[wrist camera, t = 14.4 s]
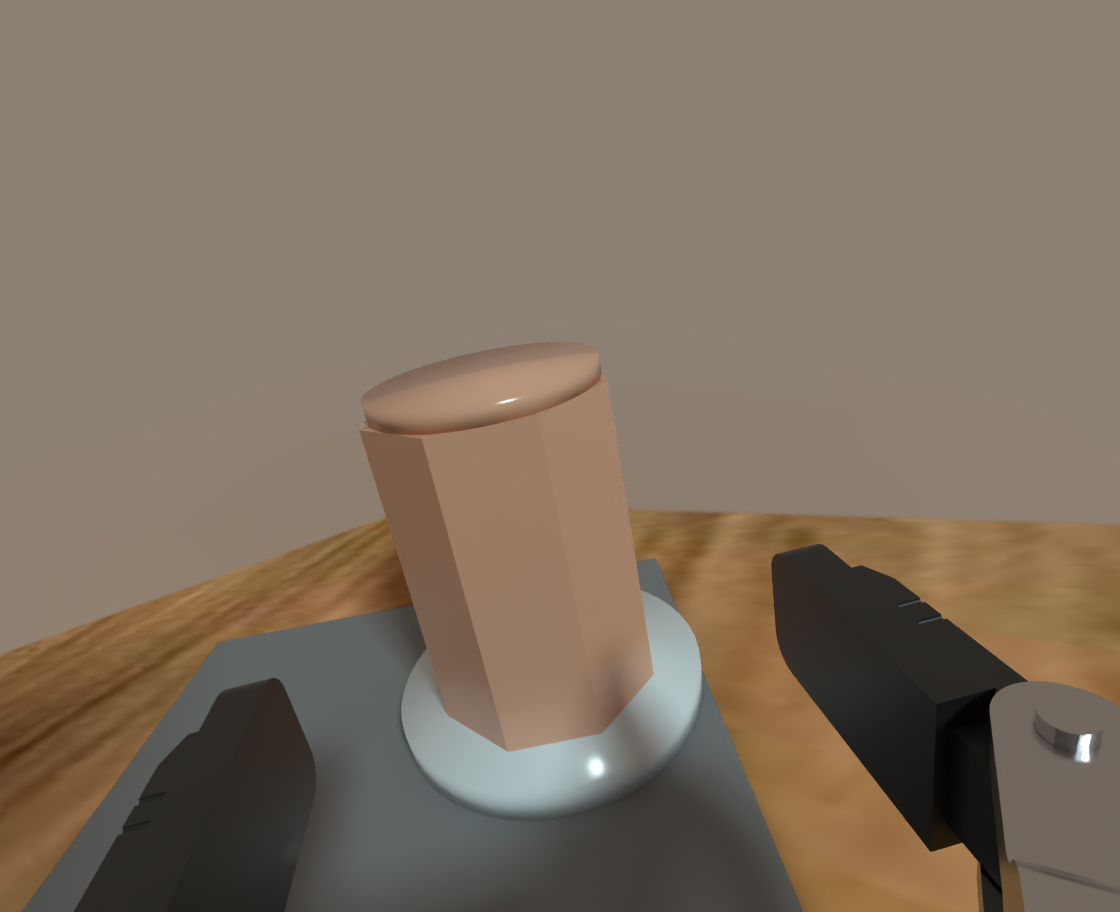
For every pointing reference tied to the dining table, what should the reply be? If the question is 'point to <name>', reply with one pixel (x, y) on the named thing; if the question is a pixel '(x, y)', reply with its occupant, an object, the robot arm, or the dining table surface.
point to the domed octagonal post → (514, 537)
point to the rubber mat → (441, 826)
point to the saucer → (568, 766)
